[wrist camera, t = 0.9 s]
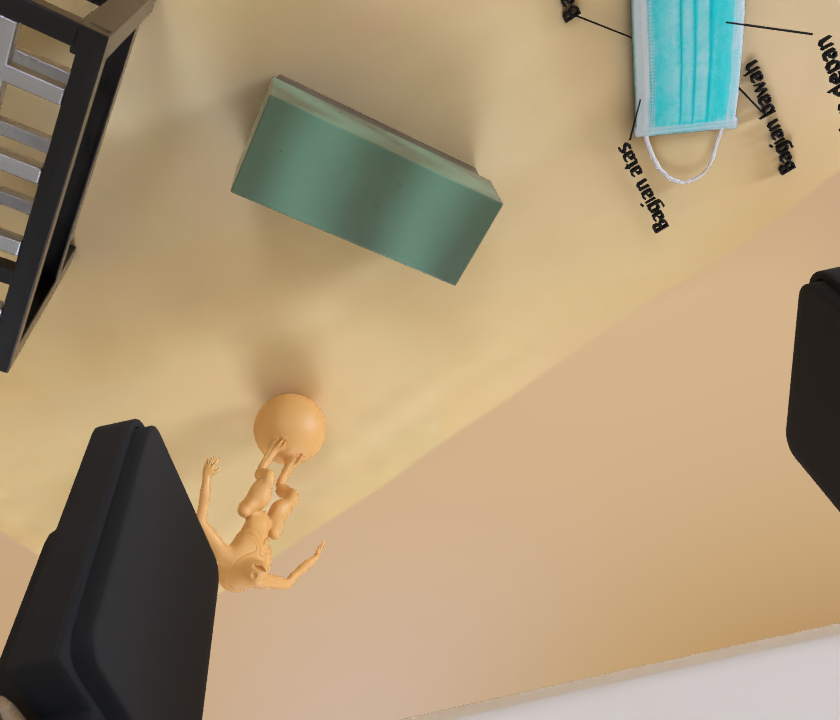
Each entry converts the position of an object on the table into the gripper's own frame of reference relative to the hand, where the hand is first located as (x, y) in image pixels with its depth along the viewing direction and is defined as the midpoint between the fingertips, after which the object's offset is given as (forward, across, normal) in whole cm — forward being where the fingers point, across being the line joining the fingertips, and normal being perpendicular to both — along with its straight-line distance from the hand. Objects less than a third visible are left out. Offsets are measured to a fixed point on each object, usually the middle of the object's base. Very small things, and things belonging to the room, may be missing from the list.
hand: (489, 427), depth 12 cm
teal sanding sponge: (+29, +1, +5) cm, 29 cm away
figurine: (+29, +9, +19) cm, 36 cm away
